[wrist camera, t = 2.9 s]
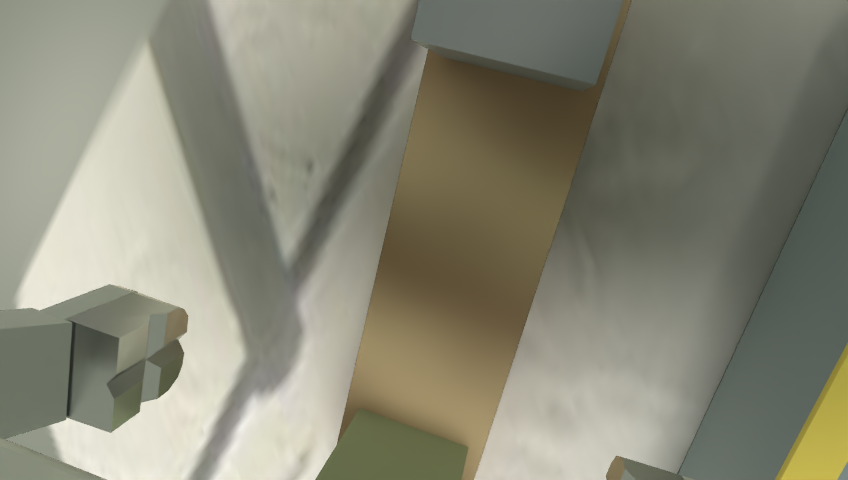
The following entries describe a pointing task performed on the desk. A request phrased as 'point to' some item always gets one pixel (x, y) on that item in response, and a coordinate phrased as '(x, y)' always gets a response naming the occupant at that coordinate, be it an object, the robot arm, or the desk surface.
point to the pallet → (467, 245)
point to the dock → (790, 355)
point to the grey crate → (522, 36)
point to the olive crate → (392, 453)
